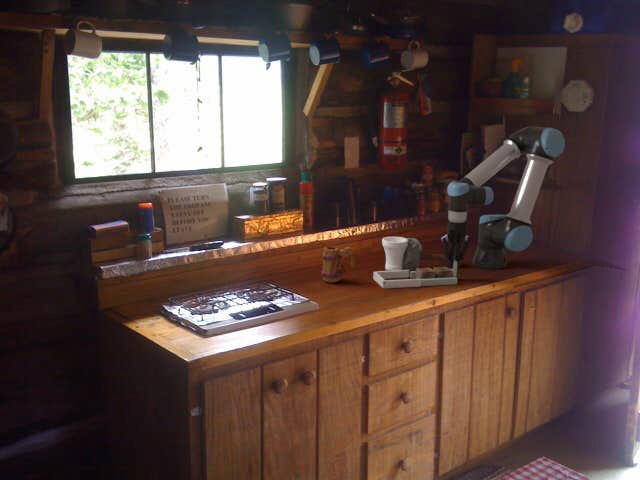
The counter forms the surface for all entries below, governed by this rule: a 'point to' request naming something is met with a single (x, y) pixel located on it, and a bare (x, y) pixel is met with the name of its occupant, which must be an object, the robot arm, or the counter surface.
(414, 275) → the slot rails
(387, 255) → the cup
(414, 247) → the hammer
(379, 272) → the tray frame
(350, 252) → the mug
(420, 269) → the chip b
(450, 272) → the chip
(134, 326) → the counter surface
